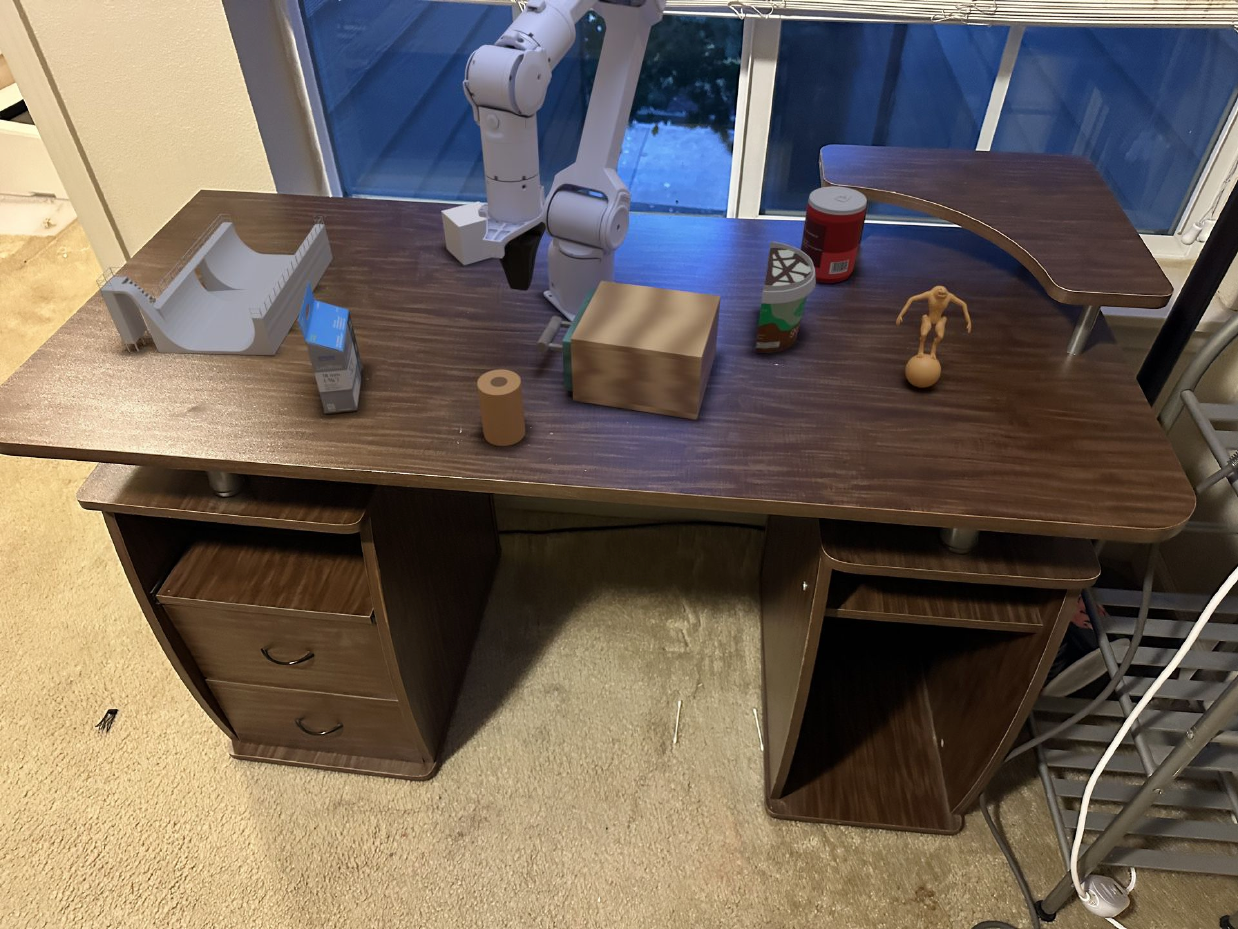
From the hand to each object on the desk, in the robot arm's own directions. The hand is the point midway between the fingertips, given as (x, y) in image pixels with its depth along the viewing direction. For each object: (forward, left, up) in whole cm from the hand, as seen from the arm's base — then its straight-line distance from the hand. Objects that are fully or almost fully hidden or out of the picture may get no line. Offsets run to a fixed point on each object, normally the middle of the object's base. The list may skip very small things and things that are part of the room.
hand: (520, 287), depth 98 cm
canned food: (+1, +47, -11) cm, 48 cm away
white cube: (-30, +6, -11) cm, 32 cm away
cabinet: (+10, +11, -10) cm, 18 cm away
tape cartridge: (-6, -21, -11) cm, 24 cm away
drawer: (+8, +8, -9) cm, 15 cm away
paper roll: (+11, -8, -10) cm, 17 cm away
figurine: (+27, +39, -11) cm, 49 cm away
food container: (+11, +31, -11) cm, 35 cm away
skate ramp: (-33, -27, -11) cm, 44 cm away
